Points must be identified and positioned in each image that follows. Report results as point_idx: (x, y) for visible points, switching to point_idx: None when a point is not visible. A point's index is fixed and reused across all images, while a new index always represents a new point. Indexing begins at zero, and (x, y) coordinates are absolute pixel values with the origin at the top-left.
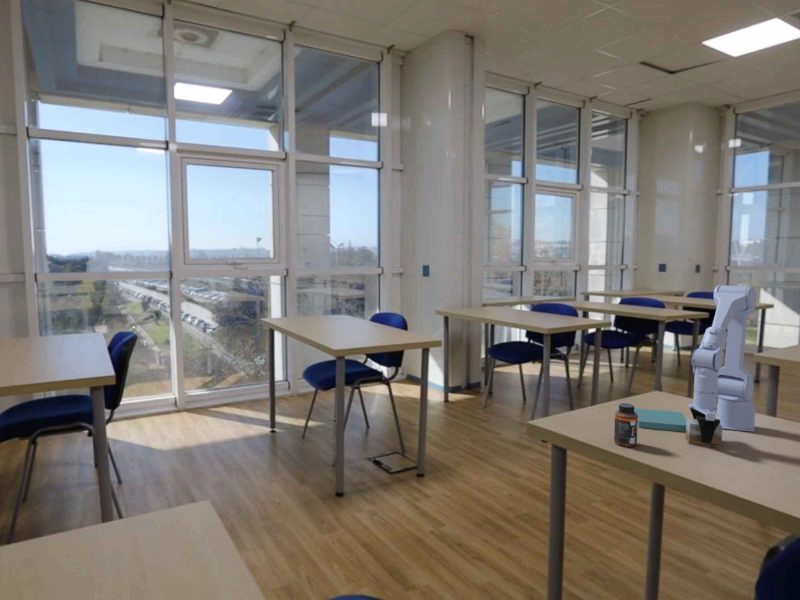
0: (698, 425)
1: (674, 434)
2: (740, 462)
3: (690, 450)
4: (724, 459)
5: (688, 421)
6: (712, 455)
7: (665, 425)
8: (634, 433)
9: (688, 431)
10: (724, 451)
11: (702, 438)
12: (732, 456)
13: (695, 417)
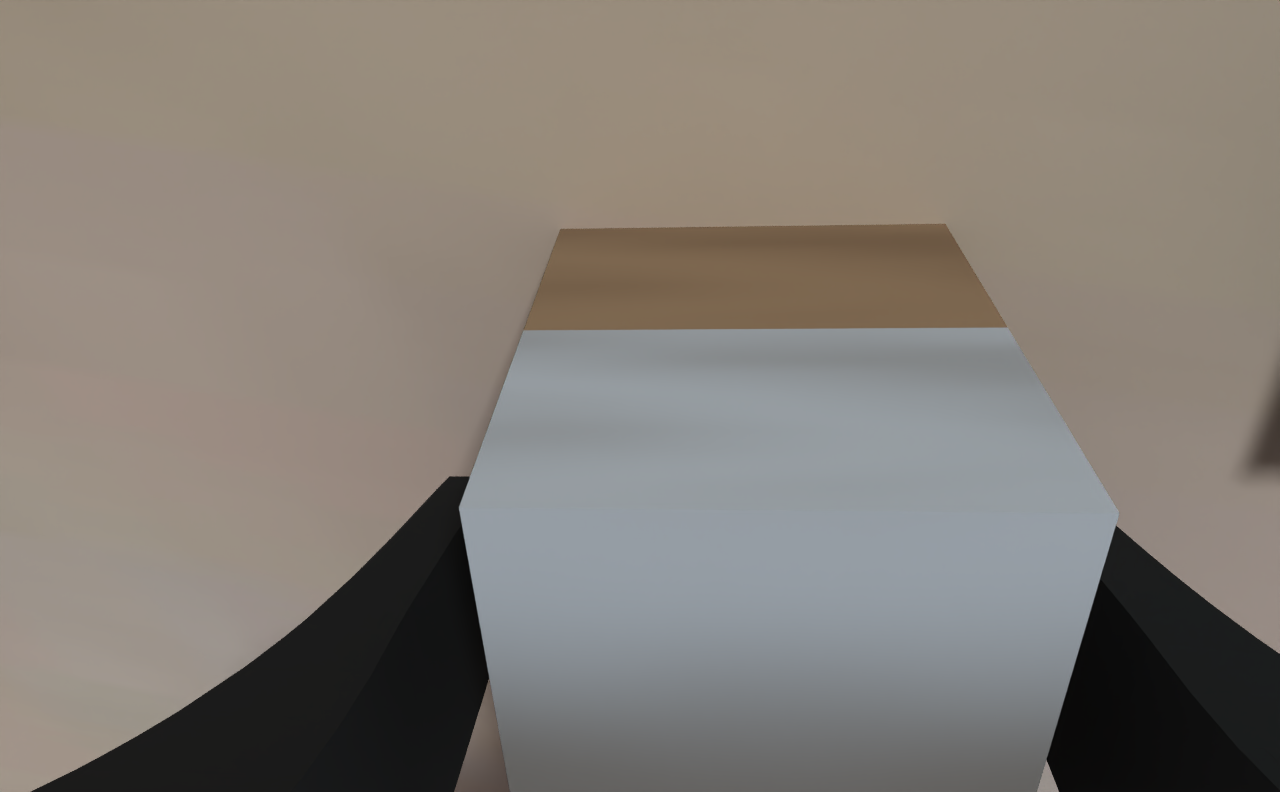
0: (502, 671)
1: (1181, 4)
2: (86, 714)
3: (170, 195)
4: (69, 588)
5: (725, 510)
6: (137, 484)
7: None
8: None
9: (652, 342)
10: None
11: (411, 523)
12: None
13: (1197, 756)
